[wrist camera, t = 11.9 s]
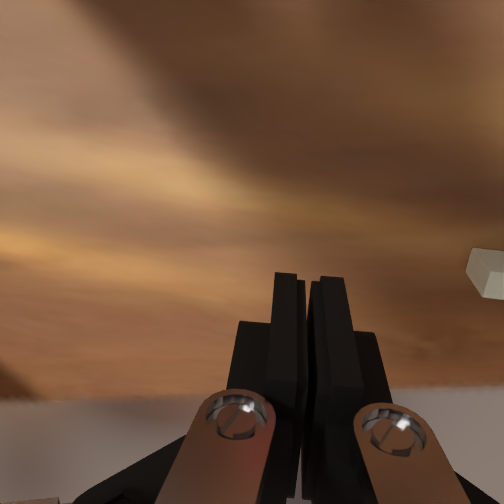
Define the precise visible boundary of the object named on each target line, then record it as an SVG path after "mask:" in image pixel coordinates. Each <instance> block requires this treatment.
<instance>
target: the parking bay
mask: <svg viewBox="0 0 504 504" xmlns="http://www.w3.org/2000/svg"><path fill="white" fill-rule="evenodd" d="M465 272H466V274H467V275H468V277H469V278H470V280H471V281H472V283H473V284H474V286H475V287H476V289H477V290H478V292H479V293H480V295H481V296H482V297H484V298H492V299H501V300H504V251H499V250H490V249H481V248H472V250H471V253H470V256H469V260H468V263H467V267H466V270H465Z"/></svg>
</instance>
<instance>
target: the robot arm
mask: <svg viewBox="0 0 504 504" xmlns="http://www.w3.org/2000/svg"><path fill="white" fill-rule="evenodd" d="M300 449H301V462H302V463H301V472H302V499H304V500H311V502H312V504H499V503H498V502H497V501H496V500H494V499H493V498H491V497H490V496H488V495H487V494H485V493H484V492H483V491H482V490H480V489H479V488H477V487H476V486H475V485H473V484H472V483H470V482H469V481H468V480H466V479H465V478H463V477H462V476H461V475H459V474H458V473H456V472H455V471H454V470H453V468H452V467H451V465H450V463H449V461H448V459H447V457H446V455H445V453H444V451H443V450H442V447H441V446H440V444H439V442H438V440H437V438H436V436H435V434H434V433H433V431H432V429H431V428H430V426H429V425H428V424H427V422H426V421H425V420H424V419H422V418H421V417H420V416H419V415H418V414H416V413H415V412H413V411H411V410H409V409H407V408H405V407H402V406H399V405H396V404H393V402H392V398H391V394H390V390H389V386H388V382H387V378H386V374H385V370H384V367H383V363H382V359H381V355H380V351H379V347H378V343H377V339H376V336H375V334H374V333H373V332H362V331H353V326H352V320H351V315H350V309H349V304H348V299H347V293H346V288H345V283H344V278H340V277H328V276H321V277H320V282H319V281H312V282H311V289H310V297H309V306H308V314H307V320H306V292H305V280H297V274H291V273H279V272H275V279H274V291H273V303H272V315H271V323H259V322H248V321H239V325H238V330H237V335H236V340H235V346H234V351H233V356H232V361H231V367H230V372H229V377H228V382H227V388H226V390H222V391H220V392H217V393H214V394H212V395H211V396H210V397H208V398H207V399H205V400H204V402H203V403H202V405H201V406H200V407H199V409H198V411H197V413H196V416H195V418H194V420H193V422H192V424H191V426H190V428H189V430H188V433H187V434H186V435H184V436H183V437H181V438H179V439H177V440H175V441H174V442H172V443H170V444H168V445H167V446H165V447H163V448H161V449H160V450H158V451H156V452H154V453H152V454H150V455H149V456H147V457H145V458H143V459H142V460H140V461H138V462H136V463H135V464H133V465H131V466H129V467H127V468H126V469H124V470H122V471H120V472H118V473H117V474H115V475H113V476H111V477H109V478H108V479H106V480H104V481H102V482H101V483H99V484H97V485H95V486H94V487H92V488H90V489H88V490H87V491H86V492H84V493H83V494H81V495H80V496H79V497H78V498H76V499H75V501H74V502H73V503H64V504H286V498H294V496H295V488H296V480H297V472H298V465H299V456H300ZM0 504H60V501H59V497H56V498H47V499H37V500H28V501H18V502H8V503H0Z"/></svg>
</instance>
